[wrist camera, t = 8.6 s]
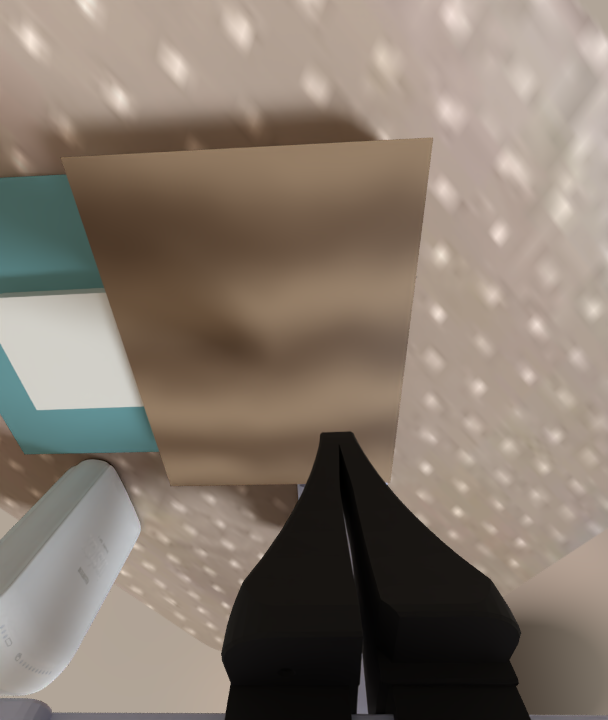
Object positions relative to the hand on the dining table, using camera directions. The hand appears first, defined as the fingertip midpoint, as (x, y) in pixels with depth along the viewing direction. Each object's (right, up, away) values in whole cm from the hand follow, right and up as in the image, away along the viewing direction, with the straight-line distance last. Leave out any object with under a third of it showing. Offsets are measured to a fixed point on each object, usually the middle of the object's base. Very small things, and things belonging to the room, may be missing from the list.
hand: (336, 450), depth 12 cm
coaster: (-17, +5, +8) cm, 19 cm away
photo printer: (-20, -9, +15) cm, 27 cm away
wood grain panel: (-4, +6, +8) cm, 10 cm away
